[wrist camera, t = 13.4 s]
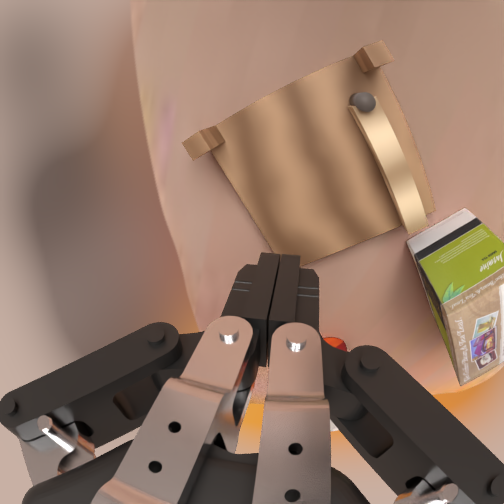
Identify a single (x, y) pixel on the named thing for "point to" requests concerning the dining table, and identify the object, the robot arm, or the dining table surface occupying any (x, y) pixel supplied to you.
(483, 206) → the dining table surface
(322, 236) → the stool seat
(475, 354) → the tea box
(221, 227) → the dining table surface
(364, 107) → the tan curved wooden piece
